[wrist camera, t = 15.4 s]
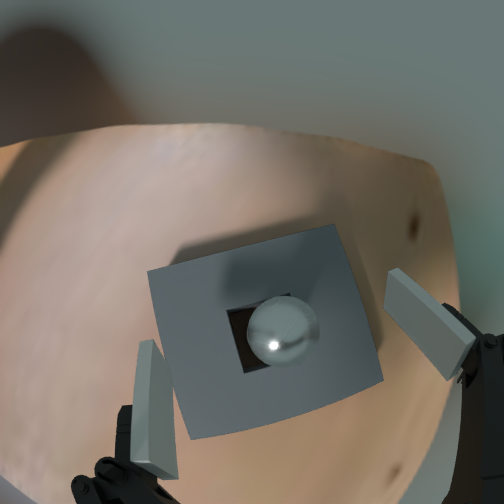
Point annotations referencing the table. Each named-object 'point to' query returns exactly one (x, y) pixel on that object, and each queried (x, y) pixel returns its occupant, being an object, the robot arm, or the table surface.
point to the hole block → (249, 296)
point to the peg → (283, 331)
